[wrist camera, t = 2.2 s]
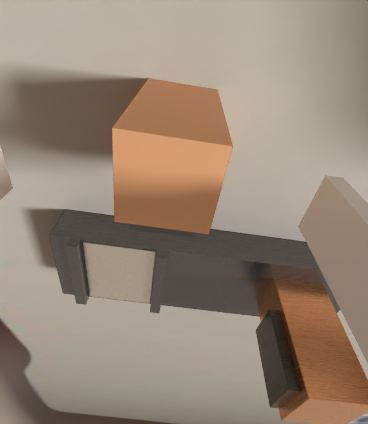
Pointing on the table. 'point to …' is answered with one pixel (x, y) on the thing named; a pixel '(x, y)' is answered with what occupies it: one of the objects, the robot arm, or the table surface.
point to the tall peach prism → (170, 159)
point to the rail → (228, 301)
